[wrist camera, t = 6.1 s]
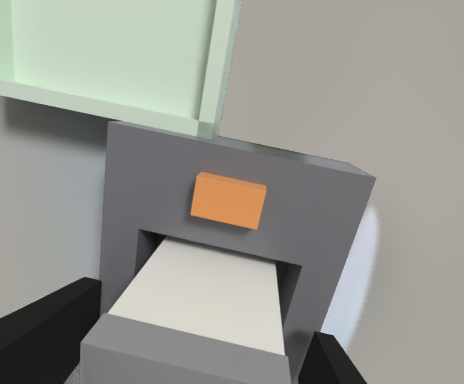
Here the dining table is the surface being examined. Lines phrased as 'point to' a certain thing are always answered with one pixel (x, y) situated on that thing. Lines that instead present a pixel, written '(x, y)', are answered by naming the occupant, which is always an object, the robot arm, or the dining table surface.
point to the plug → (191, 322)
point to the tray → (122, 58)
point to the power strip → (232, 214)
